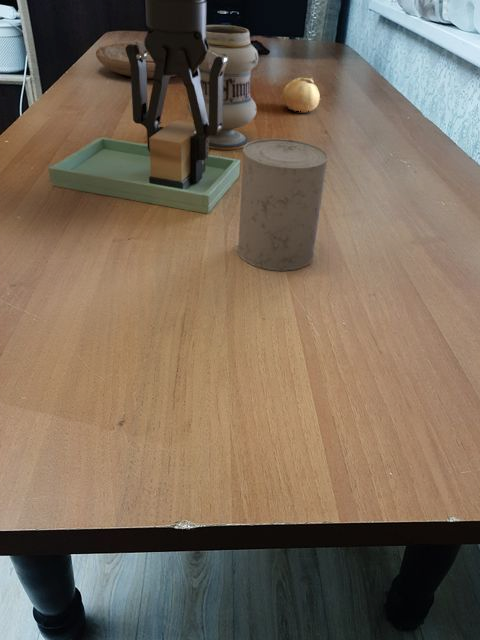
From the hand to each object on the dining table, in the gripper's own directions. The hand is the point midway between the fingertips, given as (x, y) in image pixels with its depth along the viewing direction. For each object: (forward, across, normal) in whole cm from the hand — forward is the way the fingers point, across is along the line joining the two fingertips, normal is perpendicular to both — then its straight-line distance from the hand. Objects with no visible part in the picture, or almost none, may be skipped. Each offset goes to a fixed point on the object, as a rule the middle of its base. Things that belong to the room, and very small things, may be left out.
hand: (178, 177), depth 84 cm
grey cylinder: (+1, -18, +15) cm, 24 cm away
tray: (+1, +5, 0) cm, 5 cm away
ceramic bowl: (+1, +32, -64) cm, 72 cm away
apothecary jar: (+1, +1, -23) cm, 23 cm away
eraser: (0, 0, 0) cm, 0 cm away
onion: (+1, -8, -51) cm, 52 cm away
